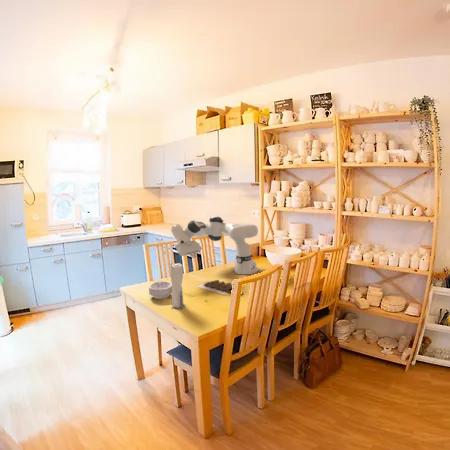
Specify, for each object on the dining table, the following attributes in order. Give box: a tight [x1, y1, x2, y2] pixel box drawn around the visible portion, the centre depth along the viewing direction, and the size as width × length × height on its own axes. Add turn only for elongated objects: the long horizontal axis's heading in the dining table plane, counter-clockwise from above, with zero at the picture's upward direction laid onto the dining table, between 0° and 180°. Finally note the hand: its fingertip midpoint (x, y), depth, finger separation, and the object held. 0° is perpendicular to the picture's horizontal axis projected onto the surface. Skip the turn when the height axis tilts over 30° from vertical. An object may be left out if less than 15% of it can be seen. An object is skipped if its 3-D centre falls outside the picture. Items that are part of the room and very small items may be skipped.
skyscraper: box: [169, 261, 187, 310], centre depth 189 cm, size 8×8×28 cm
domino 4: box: [221, 284, 233, 291], centre depth 211 cm, size 2×5×10 cm
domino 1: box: [203, 279, 220, 286], centre depth 221 cm, size 2×5×10 cm
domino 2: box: [209, 280, 226, 288], centre depth 217 cm, size 2×5×10 cm
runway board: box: [196, 281, 229, 296], centre depth 218 cm, size 12×26×1 cm, turn 51°
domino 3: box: [215, 282, 232, 289], centre depth 214 cm, size 2×5×10 cm
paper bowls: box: [148, 280, 172, 300], centre depth 206 cm, size 15×15×8 cm
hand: (195, 257), depth 228 cm, fingers closed
